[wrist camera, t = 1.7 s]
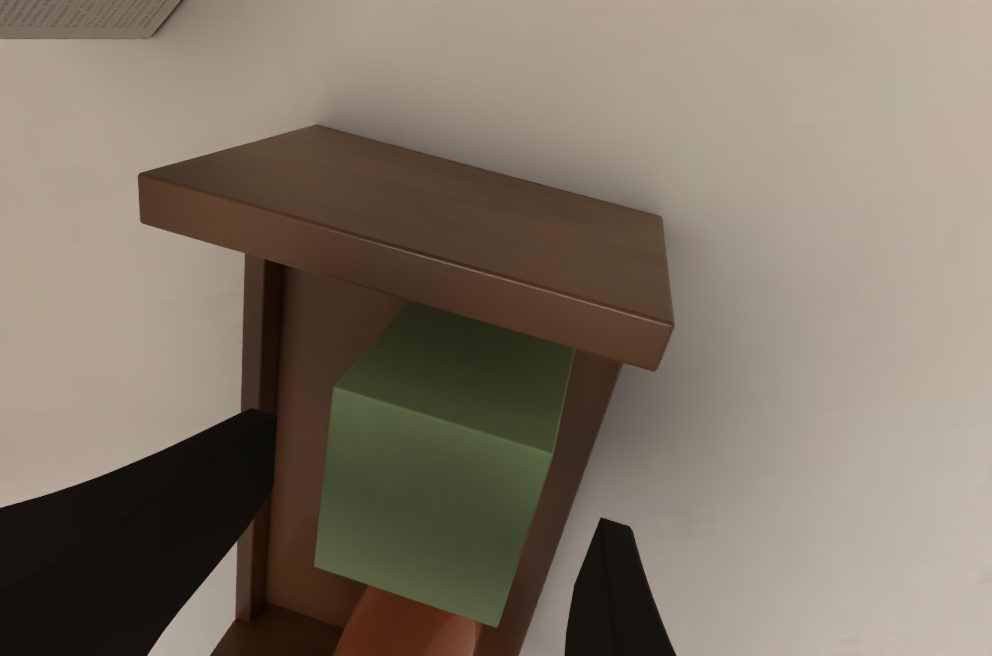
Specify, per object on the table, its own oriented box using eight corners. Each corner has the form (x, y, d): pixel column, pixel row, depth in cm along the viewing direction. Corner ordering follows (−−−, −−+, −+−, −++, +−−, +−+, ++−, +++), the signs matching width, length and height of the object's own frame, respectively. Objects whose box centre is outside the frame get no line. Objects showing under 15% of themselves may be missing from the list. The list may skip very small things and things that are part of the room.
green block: (531, 485, 18) (497, 628, 14) (390, 440, 19) (312, 567, 14) (577, 338, 16) (553, 454, 12) (415, 291, 16) (332, 386, 12)
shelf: (663, 216, 17) (676, 324, 10) (514, 645, 25) (471, 848, 19) (314, 123, 18) (135, 172, 11) (281, 566, 26) (167, 735, 20)
